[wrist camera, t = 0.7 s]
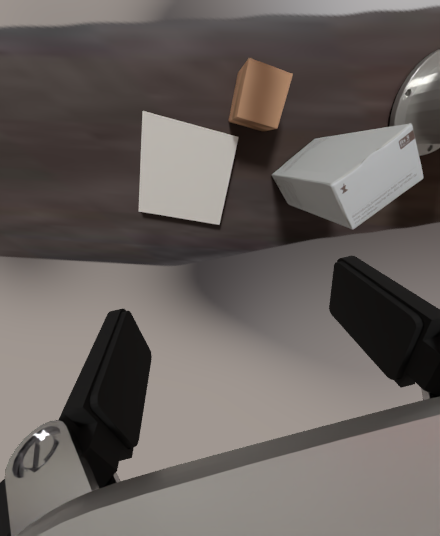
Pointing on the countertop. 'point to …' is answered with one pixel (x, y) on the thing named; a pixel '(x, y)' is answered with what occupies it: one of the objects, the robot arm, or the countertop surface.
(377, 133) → the skincare box
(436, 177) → the countertop surface
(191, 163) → the chopping board
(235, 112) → the wooden cube
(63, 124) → the countertop surface
